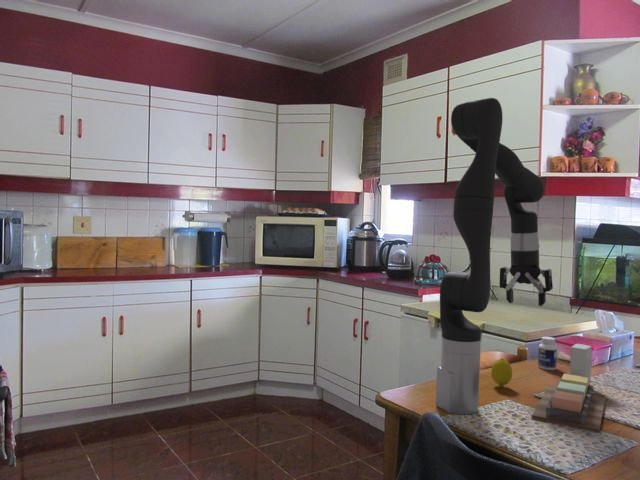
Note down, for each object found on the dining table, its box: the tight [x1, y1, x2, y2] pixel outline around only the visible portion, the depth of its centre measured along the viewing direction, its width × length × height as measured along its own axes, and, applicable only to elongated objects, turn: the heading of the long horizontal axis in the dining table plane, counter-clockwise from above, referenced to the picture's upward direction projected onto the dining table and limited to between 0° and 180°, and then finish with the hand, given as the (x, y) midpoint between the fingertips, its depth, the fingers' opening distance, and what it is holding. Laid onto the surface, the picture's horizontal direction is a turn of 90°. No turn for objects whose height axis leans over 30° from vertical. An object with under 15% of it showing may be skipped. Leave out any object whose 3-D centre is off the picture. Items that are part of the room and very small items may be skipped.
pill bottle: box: [537, 336, 558, 371], centre depth 169 cm, size 5×5×10 cm
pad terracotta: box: [552, 391, 583, 413], centre depth 124 cm, size 6×6×3 cm
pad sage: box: [556, 382, 586, 402], centre depth 132 cm, size 6×6×3 cm
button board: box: [531, 379, 606, 433], centre depth 132 cm, size 28×14×3 cm, turn 149°
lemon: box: [490, 357, 513, 388], centre depth 148 cm, size 6×6×8 cm
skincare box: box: [569, 343, 593, 385], centre depth 148 cm, size 6×4×12 cm
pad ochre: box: [560, 373, 589, 392], centre depth 140 cm, size 6×6×3 cm
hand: (525, 303), depth 152 cm, fingers open, 8 cm apart
